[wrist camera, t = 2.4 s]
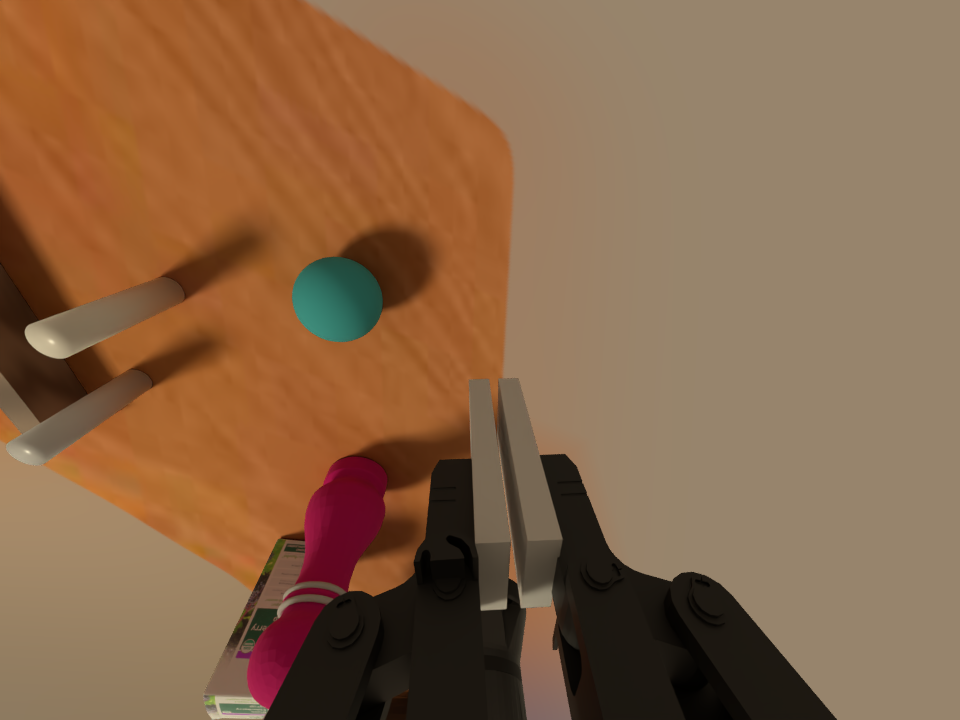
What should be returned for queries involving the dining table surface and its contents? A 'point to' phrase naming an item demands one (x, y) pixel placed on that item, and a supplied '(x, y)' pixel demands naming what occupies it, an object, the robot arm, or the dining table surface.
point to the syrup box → (252, 635)
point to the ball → (337, 299)
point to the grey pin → (78, 419)
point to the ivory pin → (102, 318)
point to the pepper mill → (320, 566)
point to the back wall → (29, 367)
